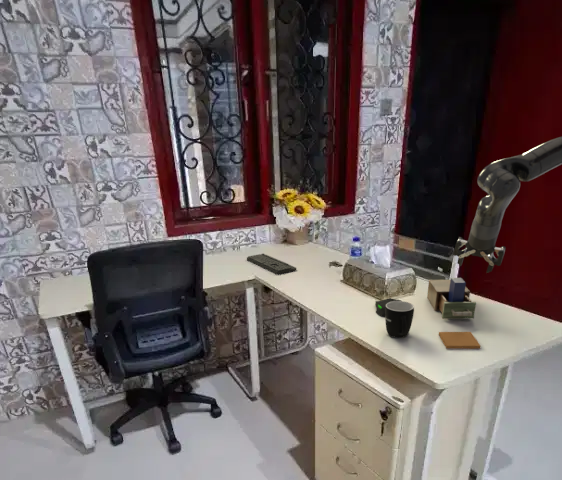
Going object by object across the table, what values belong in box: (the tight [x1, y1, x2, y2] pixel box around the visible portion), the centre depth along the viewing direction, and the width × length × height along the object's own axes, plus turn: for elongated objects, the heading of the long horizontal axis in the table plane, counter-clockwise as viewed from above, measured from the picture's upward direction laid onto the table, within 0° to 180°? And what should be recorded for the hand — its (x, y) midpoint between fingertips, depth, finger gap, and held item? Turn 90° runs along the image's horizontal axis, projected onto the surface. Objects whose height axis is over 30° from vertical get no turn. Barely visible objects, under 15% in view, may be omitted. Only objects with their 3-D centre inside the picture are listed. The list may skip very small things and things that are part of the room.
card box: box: [448, 277, 467, 302], centre depth 147 cm, size 4×6×11 cm, turn 174°
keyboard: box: [246, 253, 297, 275], centre depth 220 cm, size 35×11×2 cm, turn 30°
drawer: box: [438, 293, 477, 320], centre depth 147 cm, size 17×10×6 cm, turn 174°
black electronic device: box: [374, 297, 402, 318], centre depth 156 cm, size 11×16×4 cm
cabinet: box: [426, 279, 471, 312], centre depth 158 cm, size 14×12×8 cm
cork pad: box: [438, 331, 481, 350], centre depth 131 cm, size 10×10×1 cm
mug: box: [384, 300, 415, 339], centre depth 135 cm, size 12×9×10 cm
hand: (474, 267), depth 134 cm, fingers open, 8 cm apart
